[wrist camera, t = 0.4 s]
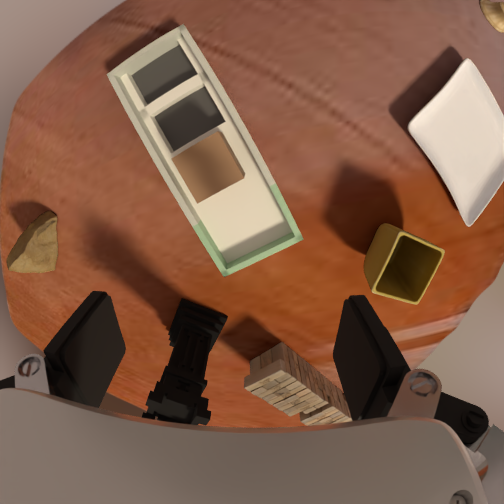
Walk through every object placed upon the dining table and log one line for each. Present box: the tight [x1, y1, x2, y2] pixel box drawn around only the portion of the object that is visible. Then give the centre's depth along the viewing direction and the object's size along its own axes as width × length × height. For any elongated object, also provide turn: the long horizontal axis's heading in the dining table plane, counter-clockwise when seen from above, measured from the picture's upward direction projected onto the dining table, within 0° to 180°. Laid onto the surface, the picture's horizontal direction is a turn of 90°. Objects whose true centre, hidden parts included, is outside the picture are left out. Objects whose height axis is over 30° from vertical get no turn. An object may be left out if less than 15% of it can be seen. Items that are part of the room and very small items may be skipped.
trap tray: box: [107, 24, 303, 277], centre depth 32 cm, size 12×32×4 cm, turn 28°
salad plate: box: [408, 58, 504, 227], centre depth 31 cm, size 21×21×3 cm
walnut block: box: [171, 131, 245, 204], centre depth 31 cm, size 6×6×4 cm
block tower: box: [244, 342, 352, 426], centre depth 48 cm, size 8×8×29 cm
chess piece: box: [142, 298, 228, 425], centre depth 36 cm, size 8×8×20 cm
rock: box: [7, 211, 58, 273], centre depth 37 cm, size 11×9×10 cm
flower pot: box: [364, 223, 445, 304], centre depth 35 cm, size 9×9×9 cm
